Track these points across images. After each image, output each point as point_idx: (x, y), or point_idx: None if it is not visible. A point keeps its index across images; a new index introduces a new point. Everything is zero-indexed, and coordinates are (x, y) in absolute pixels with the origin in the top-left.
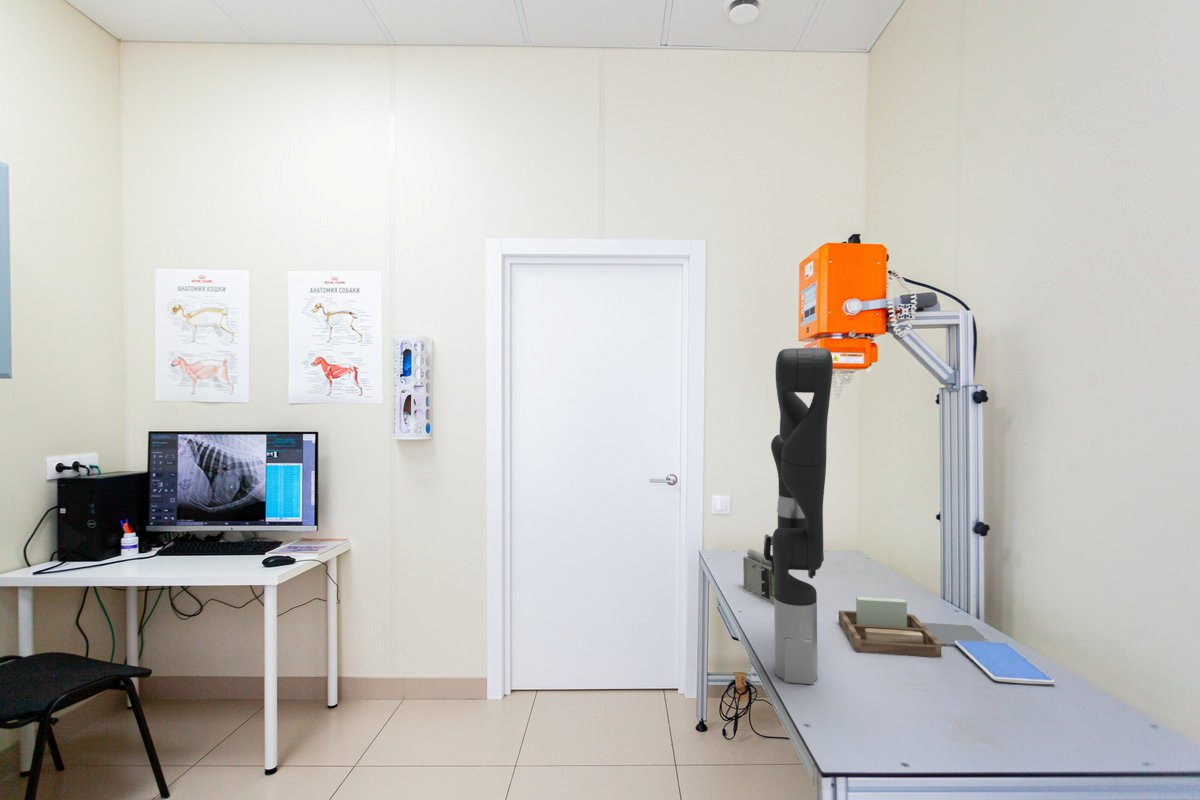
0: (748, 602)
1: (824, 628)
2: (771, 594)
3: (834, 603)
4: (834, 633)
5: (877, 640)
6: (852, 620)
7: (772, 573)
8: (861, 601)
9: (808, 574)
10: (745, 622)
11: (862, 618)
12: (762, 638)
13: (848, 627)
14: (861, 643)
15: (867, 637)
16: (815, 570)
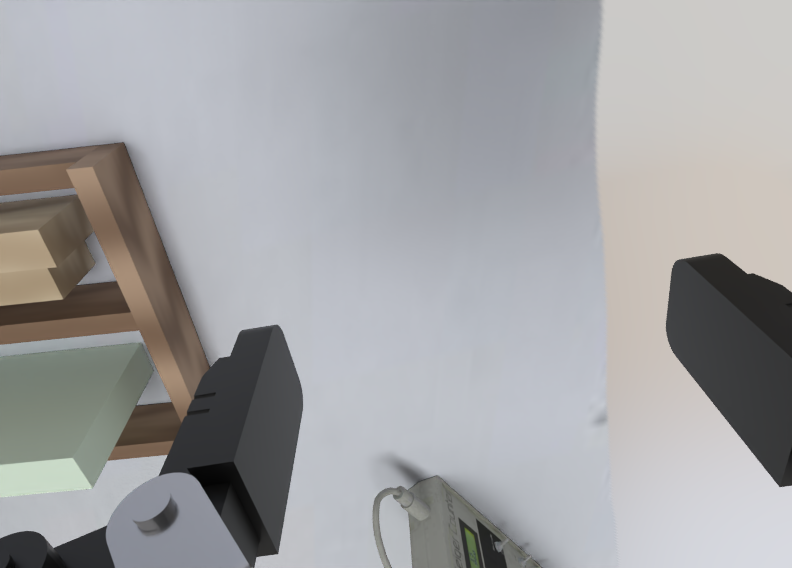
0: (553, 491)
1: None
2: (474, 534)
3: None
4: (235, 316)
5: (10, 218)
6: (166, 417)
7: (772, 283)
8: (61, 452)
9: (298, 399)
10: (600, 329)
11: (97, 388)
12: (553, 185)
13: (152, 300)
14: (77, 160)
15: (50, 217)
16: (189, 413)
